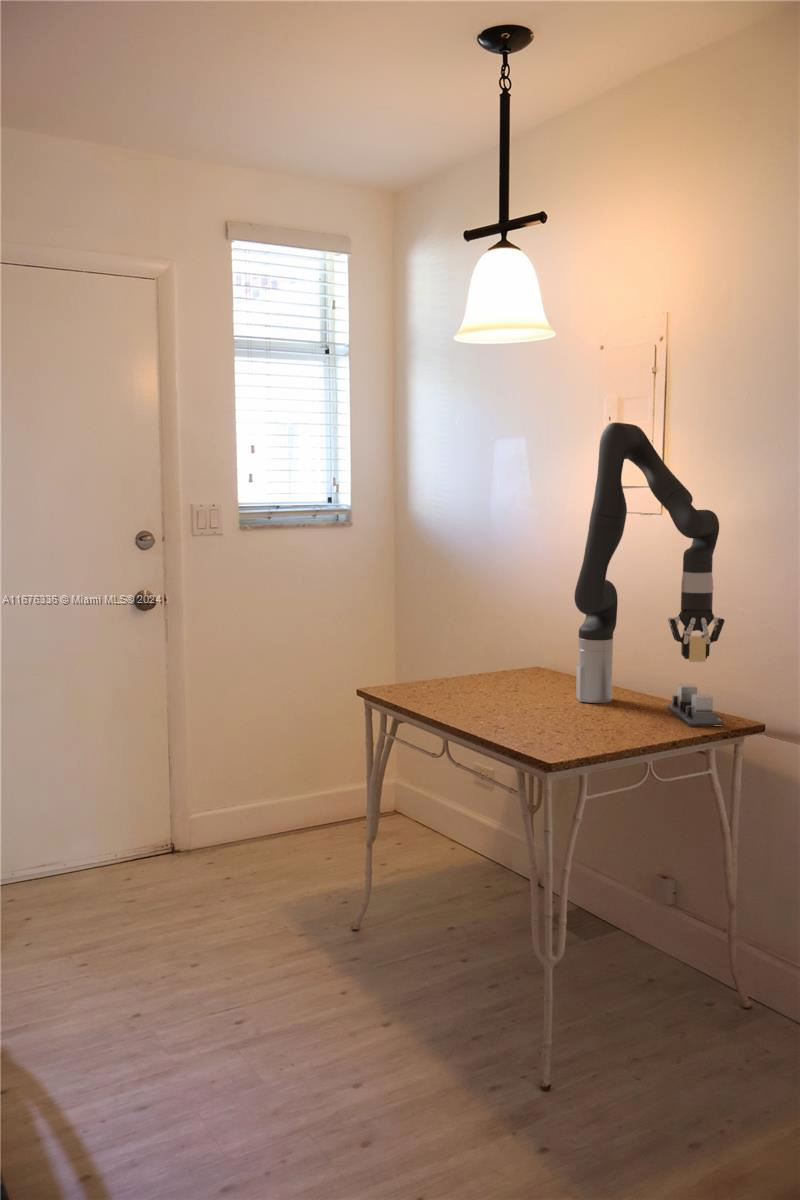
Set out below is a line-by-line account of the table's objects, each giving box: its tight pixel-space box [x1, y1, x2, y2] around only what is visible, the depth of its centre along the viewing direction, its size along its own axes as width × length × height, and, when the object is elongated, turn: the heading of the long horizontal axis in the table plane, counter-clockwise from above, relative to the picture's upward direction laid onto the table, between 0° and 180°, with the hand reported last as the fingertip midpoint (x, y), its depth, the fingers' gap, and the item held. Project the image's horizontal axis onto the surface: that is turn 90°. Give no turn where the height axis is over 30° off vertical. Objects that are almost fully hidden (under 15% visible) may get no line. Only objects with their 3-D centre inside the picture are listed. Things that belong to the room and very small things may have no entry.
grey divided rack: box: [666, 683, 724, 728], centre depth 249 cm, size 8×21×7 cm, turn 179°
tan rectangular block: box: [684, 635, 706, 663], centre depth 248 cm, size 4×4×6 cm
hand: (695, 658), depth 248 cm, fingers closed on tan rectangular block, 4 cm apart
